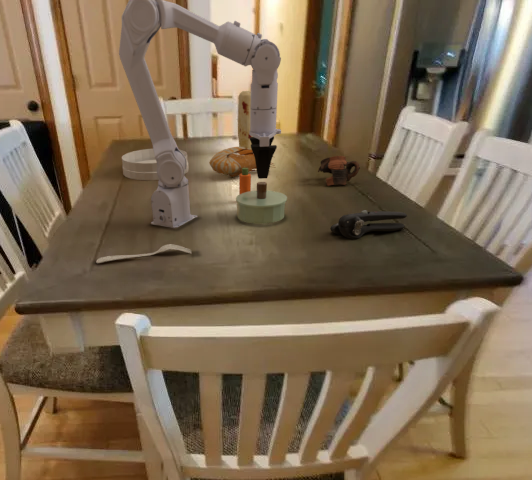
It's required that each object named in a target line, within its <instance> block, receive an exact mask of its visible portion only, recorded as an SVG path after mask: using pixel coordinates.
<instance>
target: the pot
mask: <svg viewBox="0 0 532 480" xmlns="http://www.w3.org/2000/svg"><path fill="white" fill-rule="evenodd" d="M285 212H286V202H285V203H284V204H282V205H279V206H275V207H267V208H254V207H247V206H243V205H240V204H238V203H237V202H236V217H237V219H238V220H239V221H241V222H245V223H249V224H253V225H255V224H256V225H257V224H259V225H266V224H274V223H277V222H279V221H281V220H283V219H284V218H285V214H286V213H285Z"/></svg>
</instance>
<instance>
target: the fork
mask: <svg viewBox="0 0 532 480" xmlns="http://www.w3.org/2000/svg"><path fill="white" fill-rule="evenodd" d="M169 250H175V251H180V252H184V253H188V254H191V255H192V252H191V249H190V248H187V247H185V246H181V245H178V244H173V243H168V244H164V245H162V246H161V247H159V249H158V250H156V251H153V252H149V253H141V254H139V253H138V254H122V255H121V254H119V255H106V256H102V257H99V258H98V259H96V264H103V263H106V262H113V261H117V260H118V261H119V260H125V259H133V258H142V257H150V256H154V255H157V254H159V253H163V252H165V251H169Z"/></svg>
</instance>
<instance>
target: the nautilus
mask: <svg viewBox="0 0 532 480" xmlns="http://www.w3.org/2000/svg"><path fill="white" fill-rule="evenodd" d="M208 163H209V166H210V167H211V169H212V170H213V172H216V173H218V174H221V175H224V176H228V177H230V178H236V177H237V178H238V177H239V174H242V168H248V173H250V172H257V168H256V162H255V157H254V154H253V151H252V149H249V148H244V147H239V146H233V147H228V148H224V149H222V150H220V151H218V152H216V153H215V154H214V155H212V157H211V158H210V159H209V162H208ZM270 166H273V168H274V169H276V166H275V163H274V162H271V164H270Z"/></svg>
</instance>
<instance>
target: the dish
mask: <svg viewBox="0 0 532 480" xmlns="http://www.w3.org/2000/svg"><path fill="white" fill-rule="evenodd" d="M179 150H180V151H181V152H182V153H183V155H184V156H185V158H186V163H187V165H186V169H185V171H184V175H186V174H187V173H188V172H189V170H190V169H189V168H190V167H189V160H188V153H187V151H185V150H183V149H179ZM121 162H122V167H121V168H122V174H123V176H124V177H125V178H128V179H130V180H136V181H159V178H158V176H157V162H156V159H155V156H154V150H153V148H145V149H138V150H134V151H129V152H127V153H125V154H123V155H122V156H121Z"/></svg>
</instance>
